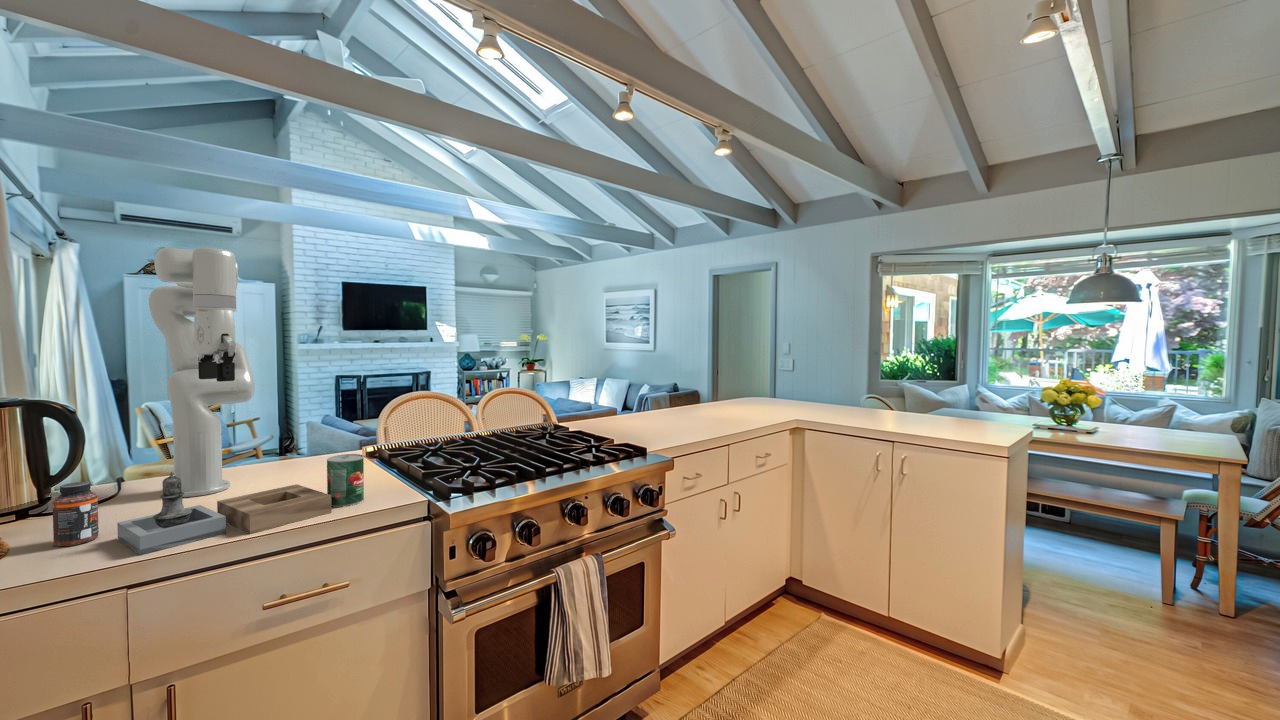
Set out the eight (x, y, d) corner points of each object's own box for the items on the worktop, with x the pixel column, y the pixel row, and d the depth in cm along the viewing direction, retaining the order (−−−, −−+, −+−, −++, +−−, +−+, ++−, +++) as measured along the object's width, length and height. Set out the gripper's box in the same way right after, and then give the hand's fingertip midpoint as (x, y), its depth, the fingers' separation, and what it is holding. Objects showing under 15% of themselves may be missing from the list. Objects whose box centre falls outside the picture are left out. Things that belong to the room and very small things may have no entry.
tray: (117, 540, 101) (117, 522, 101) (200, 520, 112) (200, 505, 112) (140, 555, 95) (139, 536, 94) (226, 533, 106) (225, 516, 105)
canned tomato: (365, 503, 125) (365, 458, 125) (327, 509, 121) (326, 462, 121) (362, 495, 132) (362, 452, 132) (326, 500, 128) (326, 456, 127)
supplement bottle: (99, 541, 101) (98, 483, 100) (53, 550, 96) (51, 490, 96) (98, 533, 105) (96, 478, 104) (53, 541, 100) (52, 484, 100)
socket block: (217, 518, 114) (217, 500, 114) (296, 500, 127) (296, 484, 127) (250, 534, 105) (249, 514, 105) (331, 512, 119) (331, 495, 119)
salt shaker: (169, 537, 100) (168, 476, 100) (144, 535, 101) (143, 474, 101) (200, 527, 106) (199, 469, 106) (176, 525, 107) (175, 467, 107)
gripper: (179, 304, 118) (180, 379, 118) (210, 302, 109) (211, 383, 109) (219, 306, 124) (220, 377, 125) (252, 304, 115) (253, 381, 116)
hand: (216, 380), depth 117 cm, fingers open, 9 cm apart
